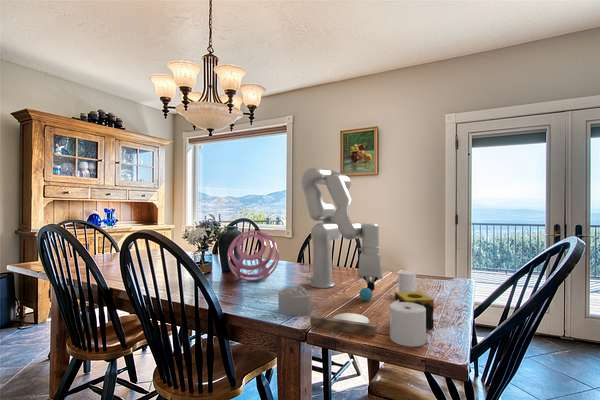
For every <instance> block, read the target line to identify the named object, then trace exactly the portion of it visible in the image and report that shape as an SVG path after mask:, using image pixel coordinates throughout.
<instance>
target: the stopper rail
mask: <svg viewBox="0 0 600 400" xmlns="http://www.w3.org/2000/svg"><path fill="white" fill-rule="evenodd" d="M310 327H315V328H319V329H325V330H326V329H327V330H332V331H340V332H345V333H351V334H357V333H359V334H358V335H363V334H366V335H365V336H369V335H373V336H372V337H376V336H377V333H378V332H377V327H378V326H377V324H373V323H361V322H354V321H347V320H341V319H334V318H333V317H332V318H331V317H325V316H318V315H312V316H311V317H310ZM375 335H376V336H375Z"/></svg>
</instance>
